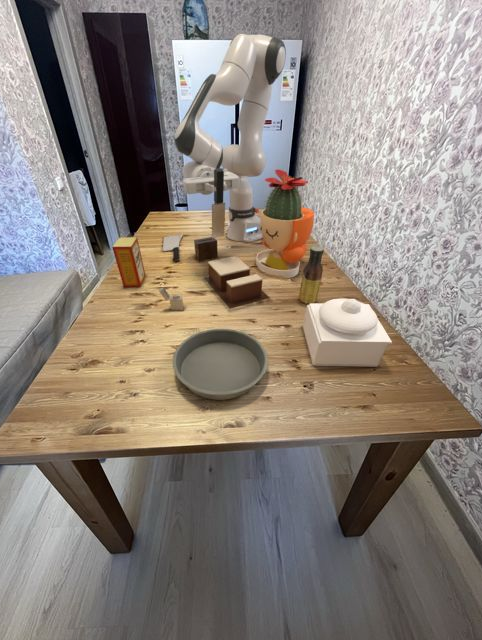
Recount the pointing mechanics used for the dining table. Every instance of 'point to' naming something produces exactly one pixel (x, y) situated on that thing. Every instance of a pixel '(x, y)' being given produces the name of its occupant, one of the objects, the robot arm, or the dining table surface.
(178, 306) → the lighter
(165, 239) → the kitchen cleaver
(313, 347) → the white lidded canister
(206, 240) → the knife block
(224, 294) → the cake board
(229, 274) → the cake
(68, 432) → the dining table surface
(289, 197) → the potted cactus
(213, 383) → the cake pan
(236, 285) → the cake slice
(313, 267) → the sauce bottle
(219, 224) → the cake knife
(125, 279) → the baking soda box
